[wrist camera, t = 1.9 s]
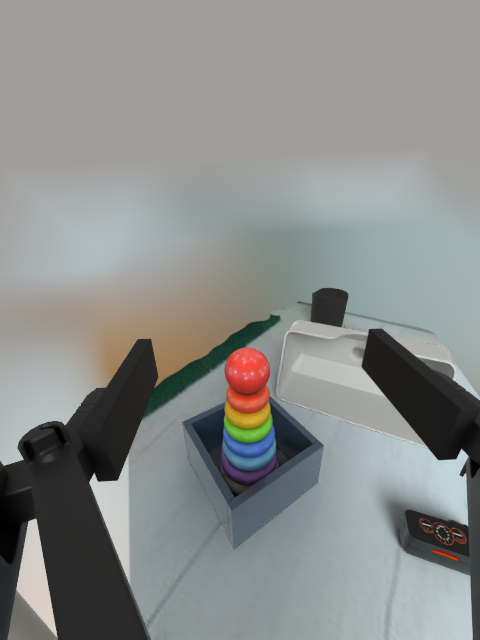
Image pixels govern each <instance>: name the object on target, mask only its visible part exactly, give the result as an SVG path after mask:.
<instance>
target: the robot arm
mask: <svg viewBox="0 0 480 640" xmlns="http://www.w3.org/2000/svg"><path fill="white" fill-rule="evenodd" d="M361 367H362V368H363V370H364V371H365V372H366V373H367V375H368V376H369V377H370V378H371V379H372V381H373V382H374V383H375V384H376V385H377V387H378V388H379V389H380V390H381V391H382V393H383V394H384V395H385V396H386V397H387V399H388V400H389V401H390V402H391V404H392V405H393V406H394V407H395V408H396V410H397V411H398V412H399V413H400V414H401V416H402V417H403V418H404V419H405V420H406V422H407V423H408V424H409V425H410V427H411V428H412V429H413V430H414V431H415V433H416V434H417V435H418V436H419V437H420V439H421V440H422V441H423V442H424V443H425V445H426V446H427V447H428V448H429V449H430V451H431V452H432V453H433V454H434V456H435V457H436V458H437V459H438V460H450V459H457V457H458V454H459V452H460V450H461V448H462V449H463V450H464V452H465V453H466V454H467V455H468V456H469V457H468V459H467V461H466V463H465V465H464V466H463V468H462V470H461V473H460V476H462V477H463V476H464V474H465V473H466V477H467V502H468V527H469V552H470V577H471V602H472V627H473V640H480V400H478V399H477V398H476V397H474V396H473V395H472V394H471V393H469V392H468V391H466V390H465V389H464V388H463V387H462V386H460V385H458V383H456V382H455V381H454V380H453V379H451V378H450V377H449V376H447V375H445V374H443V373H441V372H439V371H437V370H432V369H431V368H430V367H429V366H427V365H426V364H425V363H424V362H422V361H421V360H420V359H419V358H417V357H416V356H415V355H414V354H412V353H411V352H410V351H409V350H407V349H406V348H405V347H404V346H402V345H401V344H400V343H399V342H397V341H396V340H395V339H394V338H393V337H391V336H390V335H389V334H388V333H386V332H385V331H384V330H383V329H369V332H368V337H367V342H366V346H365V351H364V356H363V361H362V365H361ZM157 379H158V373H157V367H156V362H155V357H154V352H153V347H152V342H151V339H138V340H137V341H136V343H135V344H134V346H133V348H132V349H131V351H130V352H129V354H128V355H127V357H126V358H125V360H124V361H123V363H122V364H121V366H120V367H119V369H118V371H117V372H116V374H115V375H114V377H113V378H112V380H111V381H110V383H109V384H108V386H107V387H106V388H96V389H95V390H94V391H92V392H91V393H90V394H89V395H87V396H86V398H85V399H84V401H83V402H82V403H81V406H79V408H78V409H77V410H76V413H74V414H73V416H72V417H71V419H70V420H69V421H68V423H67V424H66V425H64V424H63V423H62V422H58V421H52V422H47V423H44V424H41V425H39V426H37V427H35V428H33V429H31V430H30V431H29V432H28V433H26V434H25V435H24V436H23V437H22V439H21V440H20V441H19V444H18V450H19V451H20V453H21V455H22V457H23V459H24V460H22V461H18V462H15V463H12V464H9V465H5V466H3V464H2V463H1V462H0V640H7V638H8V632H9V626H10V621H11V615H12V610H13V604H14V598H15V593H16V587H17V582H18V576H19V570H20V565H21V559H22V554H23V548H24V542H25V537H26V531H27V526H28V521H30V520H33V519H35V518H37V523H38V529H39V535H40V540H41V546H42V552H43V558H44V563H45V569H46V574H47V580H48V586H49V591H50V597H51V603H52V608H53V613H54V620H55V625H56V630H57V637H58V640H151V638H150V636H149V633H148V631H147V628H146V626H145V623H144V621H143V618H142V616H141V613H140V610H139V608H138V605H137V603H136V600H135V598H134V595H133V593H132V590H131V588H130V585H129V583H128V580H127V577H126V575H125V572H124V570H123V567H122V565H121V562H120V560H119V557H118V555H117V552H116V549H115V547H114V545H113V542H112V539H111V537H110V535H109V532H108V529H107V527H106V524H105V522H104V519H103V516H102V514H101V511H100V509H99V506H98V504H97V501H96V499H95V496H94V494H93V491H92V489H91V486H90V484H89V481H90V479H91V478H92V476H93V474H94V473H95V475H96V477H97V480H98V481H99V482H101V481H116V480H118V478H119V476H120V473H121V471H122V468H123V466H124V463H125V460H126V458H127V455H128V453H129V450H130V448H131V445H132V443H133V440H134V438H135V435H136V433H137V430H138V427H139V425H140V422H141V420H142V417H143V415H144V412H145V410H146V407H147V405H148V402H149V399H150V397H151V394H152V392H153V389H154V387H155V384H156V381H157Z"/></svg>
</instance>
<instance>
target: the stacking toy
mask: <svg viewBox="0 0 480 640" xmlns="http://www.w3.org/2000/svg"><path fill="white" fill-rule="evenodd" d="M225 376H226V379H227V382H228V383H229V385H230V386H229V387H228V390H227V401H226V403H225V407H224V411H225V416H224V429H223V441H222V449H221V453H220V473H221V475H222V477H223V478H224V480H225V482H226V483H227V485H228V487H229V488H230V490H231V491H233V492H234V493H236V494H238V495H239V494H241V493H242V492H244V491H245V490H247V489H248V488H249V487H251V486H252V485H254V484H255V483H257V482H258V481H260V480H261V479H263V478H264V477H266V476H267V475H268V474H270V473H271V472H273V471H274V470H276V469H277V468H279V464H278V459H277V453H276V439H275V430H274V426H273V420H272V415H271V413H270V410H271V409H270V404H269V401H268V400H269V390H268V388H267V386H266V383H267V381H268V379H269V376H270V366H269V362H268V360H267V358H266V357H265V356H264V354H263V353H261V352H260V351H258V350H256V349H253V348H241V349H238V350H236V351H235V352H233V353H232V354H231V355H230V356H229V358H228V359H227V362H226V364H225Z"/></svg>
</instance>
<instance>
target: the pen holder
mask: <svg viewBox="0 0 480 640" xmlns="http://www.w3.org/2000/svg"><path fill="white" fill-rule="evenodd" d="M347 300H348V293H347V292H345V291H343V290H340V289H334V288H322V289H320V290H318V291H316V292H315V293H313V295H312V310H311V322H314V323H319V324H325V325H330V326H336V327H342V323H343V319H344V314H345V310H346V304H347Z"/></svg>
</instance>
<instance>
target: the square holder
mask: <svg viewBox="0 0 480 640" xmlns="http://www.w3.org/2000/svg"><path fill="white" fill-rule="evenodd" d="M268 401H269V404H270V409H271V410H270V413H271V415H272V420H273V426H274V430H275V439H276V446H277V447H278V448H279V449H280V450H281V451H282V453H283V454H284V455H285V456H286V457H287V458H288V459H289V461H287V462H286V463H284V464H283V465H282V466H280V467H279V468H277V469H276V470H274V471H273V472H271V473H270V474H268V475H267V476H266V477H264V478H263V479H261V480H260V481H258V482H257V483H255V484H254V485H252V486H251V487H249V488H248V489H247V490H245V491H244V492H242V493H241V494H239V495H238V496H236V497H234V495H233V493H232V492H231V490H230V488H229V487H228V485H227V483H226V482H225V480H224V478H223V477H222V475H221V473H220V472H219V470H218V468H217V467H216V465H215V463H214V462H213V460H212V458H211V457H210V455H209V453H208V452H210V451H212V450H214V449H215V448H217V447H219V446H221V445H222V441H223V429H224V416H225V411H224V407H225V403H226V402H225V403H223V404H221V405H218V406H216V407H214V408H212V409H210V410H208V411H205V412H203V413H201V414H199V415H197V416H195V417H192V418H190V419H188V420H186V421H184V422H182V425H183V431H184V437H185V444H186V450H187V456H188V459H189V461H190V463H191V465H192V467H193V469H194V471H195V473H196V475H197V477H198V479H199V481H200V483H201V485H202V487H203V489H204V491H205V493H206V495H207V497H208V499H209V501H210V503H211V505H212V507H213V509H214V511H215V513H216V515H217V517H218V519H219V521H220V523H221V525H222V527H223V529H224V531H225V533H226V535H227V537H228V539H229V541H230V543H231V545H232V547H233V549H235V548H236V547H238V546H239V545H240V544H241V543H243V542H244V541H245V540H246V539H248V538H249V537H250V536H251V535H253V534H254V533H255V532H256V531H258V530H259V529H260V528H261V527H263V526H264V525H265V524H266V523H268V522H269V521H270V520H271V519H273V518H274V517H275V516H276V515H278V514H279V513H280V512H281V511H283V510H284V509H285V508H286V507H288V506H289V505H290V504H291V503H293V502H294V501H295V500H296V499H298V498H299V497H300V496H301V495H303V494H304V493H305V492H306V491H308V490H309V489H310V488H311V487H313V486H314V485H315V484H316V483H317V482H318V476H319V471H320V465H321V459H322V453H323V447H324V445H323V444H322V443H321V442H319V441H318V440H317V439H316V438H315V437H314V436H313V435H312V434H311V433H310V432H309V431H307V430H306V429H305V428H304V427H303V426H302V425H301V424H300V423H299V422H298V421H296V420H295V419H294V418H293V417H292V416H291V415H290V414H289V413H288V412H287V411H285V410H284V409H283V408H282V407H281V406H280V405H279V404H278V403H277V402H276V401H274V400H273V399H272V398H271V397H270V396H269V400H268Z"/></svg>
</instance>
